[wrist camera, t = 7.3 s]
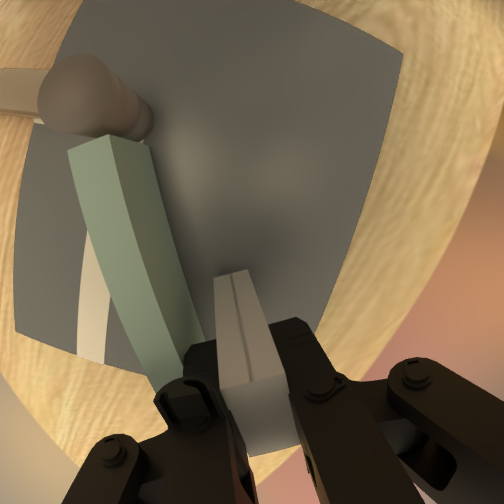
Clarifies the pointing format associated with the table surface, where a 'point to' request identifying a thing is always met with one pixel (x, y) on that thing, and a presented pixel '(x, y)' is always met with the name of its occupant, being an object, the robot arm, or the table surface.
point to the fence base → (76, 99)
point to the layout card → (213, 161)
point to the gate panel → (136, 252)
